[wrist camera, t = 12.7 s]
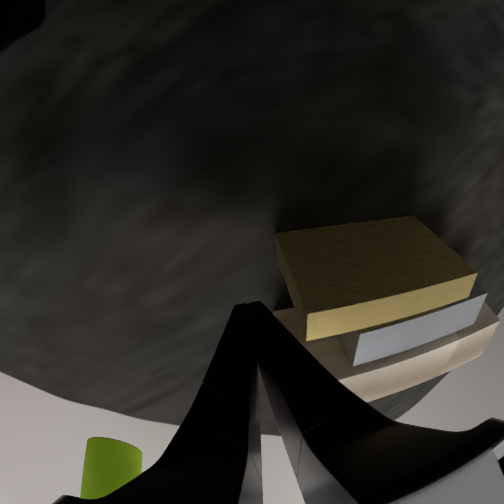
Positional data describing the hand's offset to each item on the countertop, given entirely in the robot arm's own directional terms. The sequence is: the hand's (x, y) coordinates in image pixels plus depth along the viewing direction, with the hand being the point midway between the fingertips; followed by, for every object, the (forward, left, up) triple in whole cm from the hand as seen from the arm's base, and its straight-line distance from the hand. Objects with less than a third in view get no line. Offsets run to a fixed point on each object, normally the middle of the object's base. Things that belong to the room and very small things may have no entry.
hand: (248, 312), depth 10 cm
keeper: (0, +5, -4) cm, 6 cm away
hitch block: (+5, +7, -4) cm, 10 cm away
